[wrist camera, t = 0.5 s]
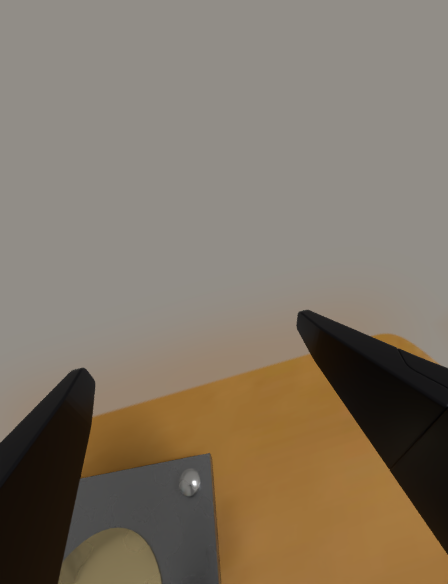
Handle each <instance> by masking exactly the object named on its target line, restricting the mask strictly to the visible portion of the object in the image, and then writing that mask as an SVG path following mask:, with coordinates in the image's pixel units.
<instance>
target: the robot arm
mask: <svg viewBox="0 0 448 584" xmlns="http://www.w3.org/2000/svg"><path fill="white" fill-rule="evenodd" d="M297 330H298V331H299V333H300V335H301V337H302V339H303V341H304V343H305V345H306V346H307V348H308V350H309V352H310V354H311V356H312V357H313V359H314V361H315V362H316V364H317V365H318V367H319V368H320V369H321V371H322V372H323V374H324V375H325V377H326V378H327V380H328V381H329V383H330V384H331V385H332V387H333V388H334V390H335V391H336V393H337V394H338V396H339V397H340V399H341V400H342V401H343V403H344V404H345V406H346V407H347V409H348V410H349V412H350V413H351V415H352V416H353V417H354V419H355V420H356V422H357V423H358V425H359V426H360V428H361V429H362V431H363V432H364V433H365V435H366V436H367V438H368V439H369V441H370V442H371V444H372V445H373V447H374V448H375V449H376V451H377V452H378V454H379V455H380V457H381V458H382V460H383V461H384V463H385V464H386V465H387V467H388V468H389V469H390V471H391V473H392V474H393V476H394V477H395V479H396V480H397V482H398V483H399V485H400V486H401V487H402V489H403V490H404V492H405V493H406V495H407V496H408V498H409V499H410V501H411V502H412V503H413V505H414V506H415V508H416V509H417V511H418V512H419V514H420V515H421V517H422V518H423V519H424V521H425V522H426V524H427V525H428V527H429V528H430V530H431V531H432V533H433V534H434V535H435V537H436V538H437V540H438V541H439V543H440V544H441V546H442V547H443V548H444V550H445V551H446V553H447V554H448V368H446V367H443V366H441V365H438V364H435V363H433V362H430V361H428V360H425V359H423V358H420V357H418V356H415V355H413V354H411V353H408V352H406V351H404V350H401V349H397V348H396V347H394V346H392V345H389V344H387V343H385V342H382V341H380V340H378V339H375V338H373V337H371V336H368V335H366V334H363V333H361V332H359V331H357V330H354V329H352V328H349V327H347V326H345V325H343V324H340V323H338V322H335V321H333V320H331V319H328V318H326V317H324V316H321V315H319V314H317V313H314V312H312V311H310V310H303V311H300V312H299V313H298V317H297ZM94 394H95V381H94V379H93V378H92V376H91V375H90V374H89V372H88V371H87V370H86V369H85V368H80V369H75V370H73V371H71V372H70V373H69V374H68V375H67V376H66V377H65V378H64V379H63V380H62V381H61V382H60V383H59V384H58V385H57V386H56V387H55V388H54V389H53V390H52V391H51V392H50V393H49V394H48V395H47V396H46V397H45V398H44V399H43V400H42V401H41V402H40V403H39V404H38V405H37V406H36V407H35V408H34V409H33V410H32V411H31V413H29V414H28V415H27V416H26V417H25V418H24V419H23V420H22V421H21V422H20V423H19V424H18V426H16V427H15V429H14V430H13V431H12V432H11V433H10V434H9V435H8V436H7V437H6V438H5V439H4V440H3V441H2V442H1V443H0V584H58V581H59V577H60V572H61V567H62V562H63V558H64V553H65V548H66V543H67V539H68V534H69V529H70V524H71V520H72V515H73V510H74V506H75V501H76V496H77V491H78V487H79V482H80V477H81V472H82V468H83V463H84V458H85V453H86V449H87V444H88V439H89V434H90V429H91V423H92V414H93V404H94Z"/></svg>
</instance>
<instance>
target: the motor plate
mask: <svg viewBox="0 0 448 584" xmlns="http://www.w3.org/2000/svg"><path fill="white" fill-rule="evenodd" d="M58 584H221V574H220V560H219V546H218V533H217V519H216V505H215V492H214V478H213V464H212V457H211V455H210V453H208V454H203V455H198V456H193V457H188V458H183V459H178V460H173V461H168V462H163V463H157V464H152V465H147V466H142V467H137V468H132V469H127V470H122V471H117V472H112V473H107V474H102V475H97V476H92V477H87V478H82V479H80V482H79V487H78V491H77V496H76V501H75V506H74V510H73V515H72V520H71V524H70V529H69V534H68V539H67V543H66V548H65V553H64V558H63V562H62V567H61V572H60V577H59V581H58Z"/></svg>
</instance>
